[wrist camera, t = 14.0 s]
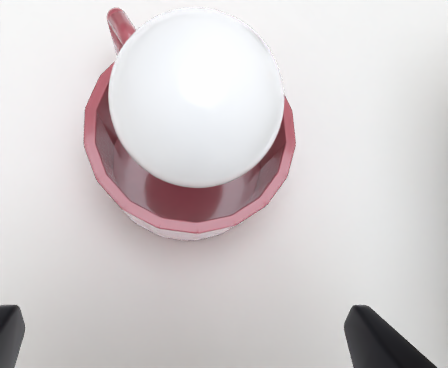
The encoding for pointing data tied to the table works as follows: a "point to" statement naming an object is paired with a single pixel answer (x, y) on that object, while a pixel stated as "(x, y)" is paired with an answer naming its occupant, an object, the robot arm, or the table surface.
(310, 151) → the table surface
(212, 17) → the lightbulb
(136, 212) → the mug
